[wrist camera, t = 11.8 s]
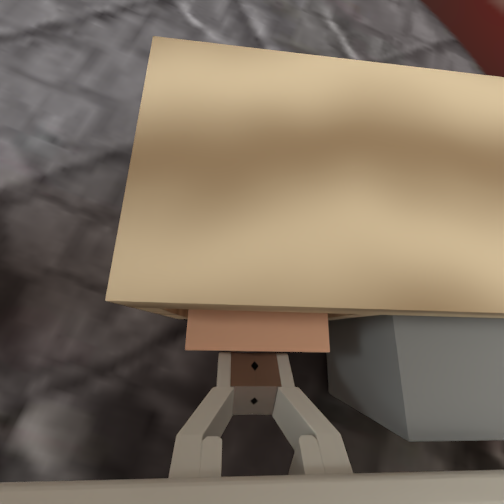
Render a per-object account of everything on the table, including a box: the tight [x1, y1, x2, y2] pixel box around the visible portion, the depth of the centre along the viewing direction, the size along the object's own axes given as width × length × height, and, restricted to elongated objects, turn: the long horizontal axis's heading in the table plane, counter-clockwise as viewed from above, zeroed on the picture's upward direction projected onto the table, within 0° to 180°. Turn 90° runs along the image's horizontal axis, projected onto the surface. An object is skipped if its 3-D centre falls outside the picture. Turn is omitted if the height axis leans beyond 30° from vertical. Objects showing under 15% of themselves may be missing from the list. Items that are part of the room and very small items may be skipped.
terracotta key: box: [185, 309, 330, 352], centre depth 13 cm, size 7×5×7 cm
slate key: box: [326, 315, 504, 442], centre depth 13 cm, size 7×5×7 cm
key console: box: [105, 36, 504, 320], centre depth 14 cm, size 9×23×10 cm, turn 89°
